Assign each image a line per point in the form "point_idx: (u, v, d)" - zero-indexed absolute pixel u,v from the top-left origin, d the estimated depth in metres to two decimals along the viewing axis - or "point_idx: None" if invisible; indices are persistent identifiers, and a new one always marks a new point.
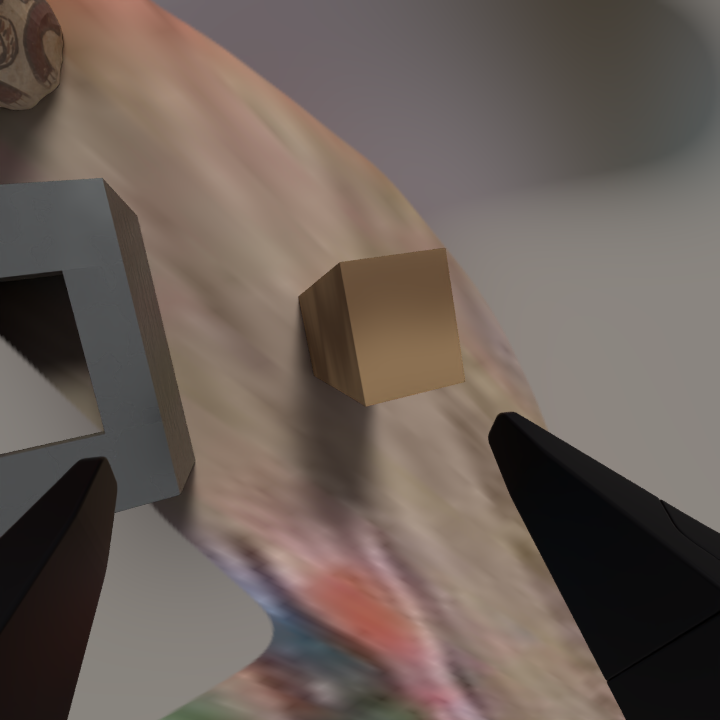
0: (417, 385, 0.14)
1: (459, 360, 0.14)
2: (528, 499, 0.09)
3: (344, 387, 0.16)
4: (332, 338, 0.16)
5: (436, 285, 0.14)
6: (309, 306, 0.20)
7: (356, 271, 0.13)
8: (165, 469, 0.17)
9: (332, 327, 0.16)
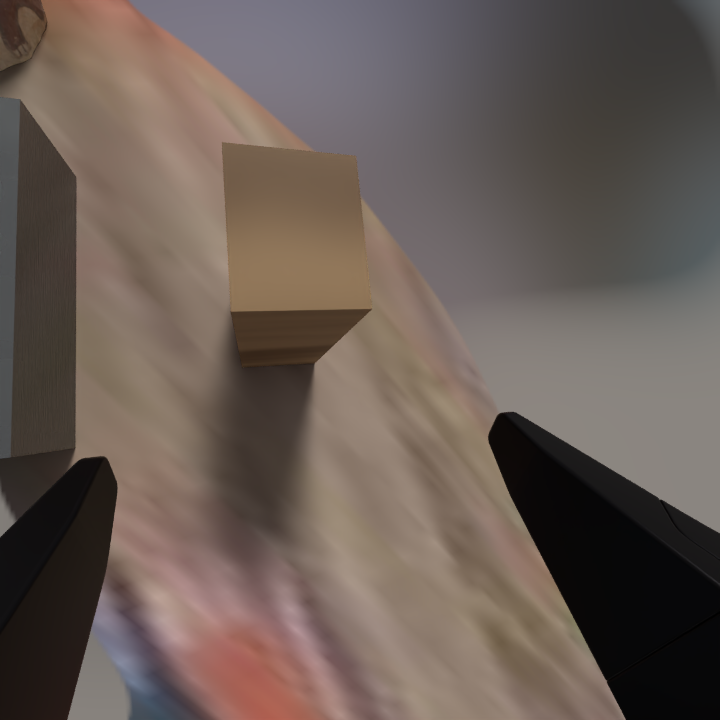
0: (306, 299, 0.11)
1: (365, 281, 0.11)
2: (528, 499, 0.09)
3: None
4: None
5: (342, 192, 0.12)
6: None
7: (241, 156, 0.11)
8: None
9: None
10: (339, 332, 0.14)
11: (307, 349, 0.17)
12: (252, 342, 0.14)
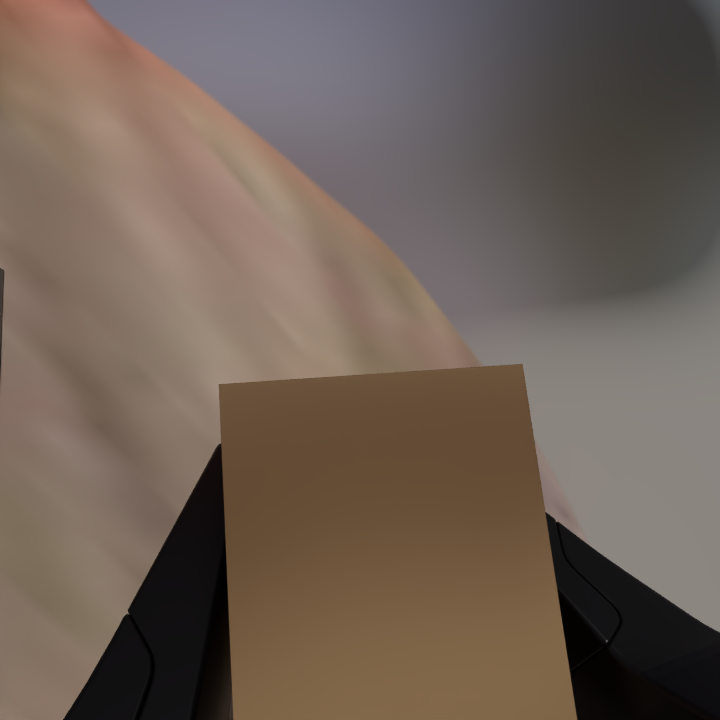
0: None
1: (566, 695, 0.05)
2: None
3: None
4: None
5: (500, 462, 0.05)
6: None
7: (269, 414, 0.04)
8: None
9: None
10: None
11: None
12: None
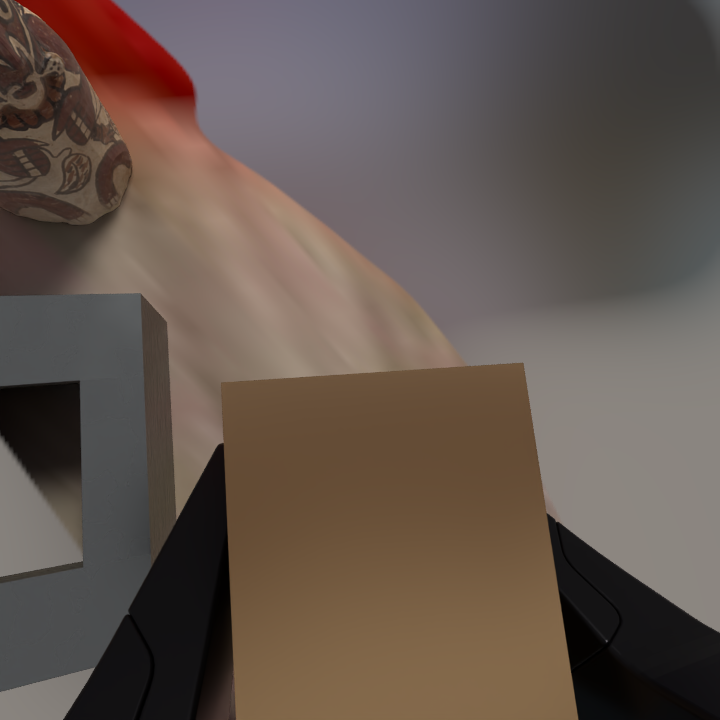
0: None
1: (567, 693, 0.05)
2: None
3: None
4: None
5: (501, 461, 0.05)
6: None
7: (272, 412, 0.04)
8: None
9: None
10: None
11: None
12: None
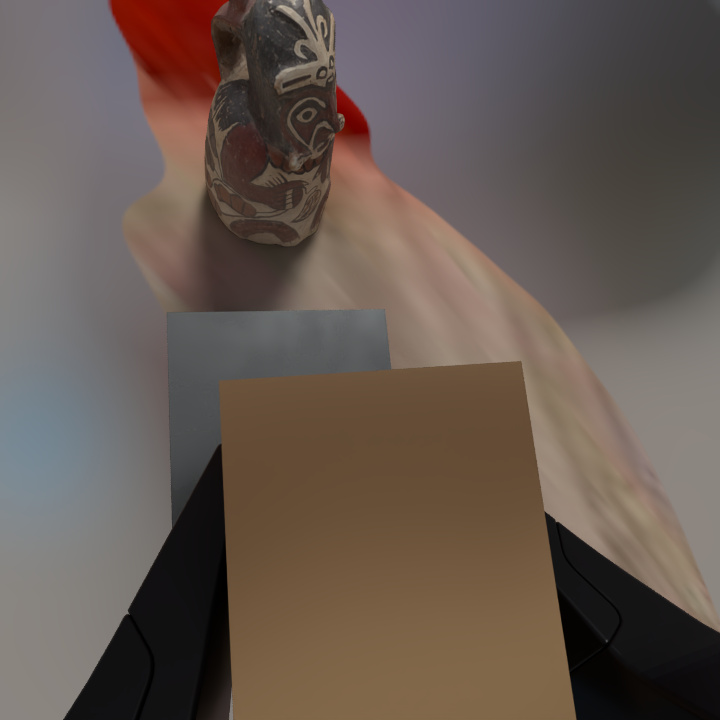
0: None
1: (564, 691, 0.05)
2: None
3: None
4: None
5: (499, 459, 0.05)
6: None
7: (269, 410, 0.04)
8: None
9: None
10: None
11: None
12: None
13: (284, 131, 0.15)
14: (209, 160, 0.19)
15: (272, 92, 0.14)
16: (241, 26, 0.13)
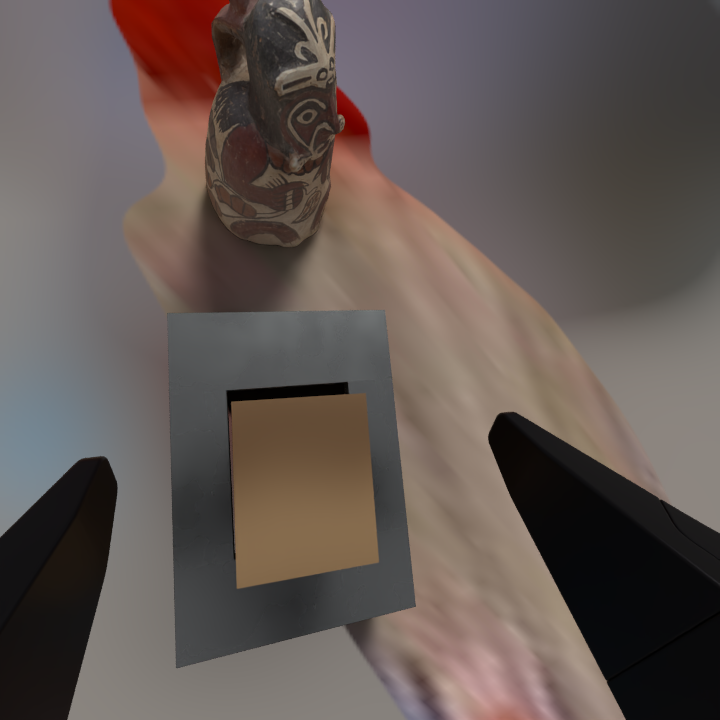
0: (312, 563, 0.11)
1: (372, 533, 0.11)
2: (528, 499, 0.09)
3: None
4: None
5: (350, 436, 0.11)
6: None
7: (250, 413, 0.11)
8: (406, 577, 0.17)
9: None
10: None
11: None
12: None
13: (284, 132, 0.15)
14: (209, 161, 0.19)
15: (273, 94, 0.14)
16: (242, 28, 0.13)
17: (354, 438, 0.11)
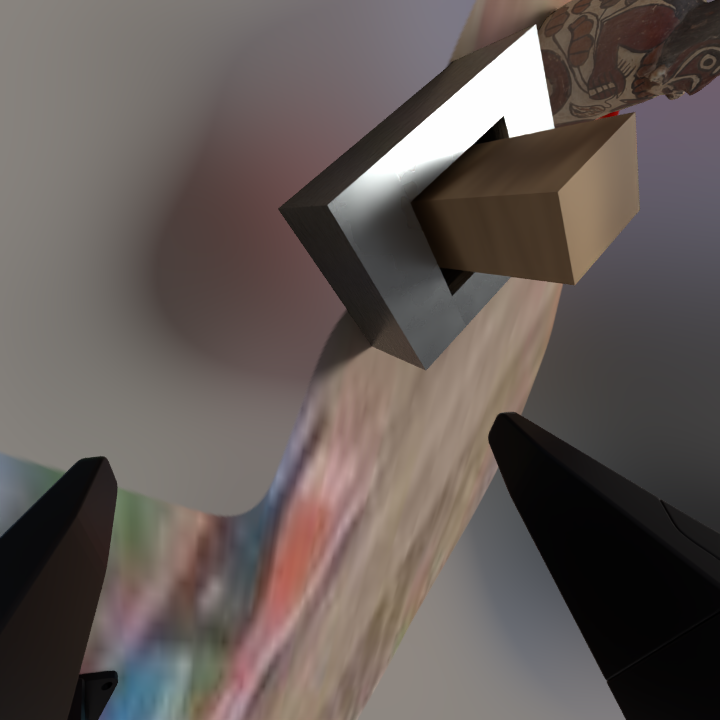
0: (571, 238, 0.14)
1: (586, 269, 0.15)
2: (528, 499, 0.09)
3: (492, 191, 0.15)
4: (511, 163, 0.16)
5: (622, 216, 0.15)
6: (460, 155, 0.20)
7: (630, 132, 0.14)
8: (439, 349, 0.20)
9: (528, 155, 0.16)
10: (506, 271, 0.17)
11: (448, 252, 0.19)
12: (464, 209, 0.16)
13: (688, 50, 0.19)
14: None
15: None
16: None
17: (622, 219, 0.15)
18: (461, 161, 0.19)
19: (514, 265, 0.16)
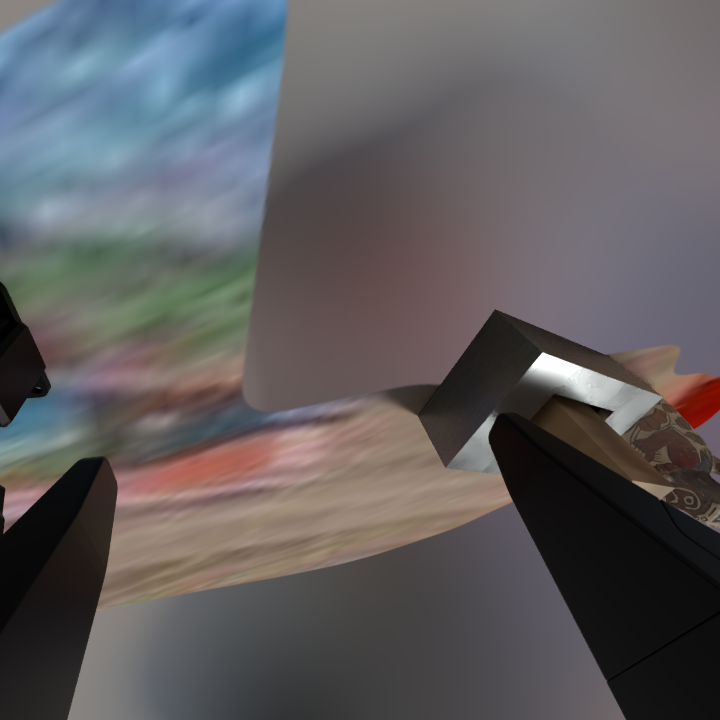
0: None
1: None
2: (528, 499, 0.09)
3: (596, 440, 0.22)
4: (607, 438, 0.24)
5: None
6: None
7: (665, 492, 0.22)
8: (462, 466, 0.26)
9: (617, 445, 0.24)
10: None
11: None
12: (570, 428, 0.23)
13: (688, 485, 0.30)
14: (680, 421, 0.33)
15: (714, 500, 0.29)
16: None
17: None
18: (577, 403, 0.27)
19: None
